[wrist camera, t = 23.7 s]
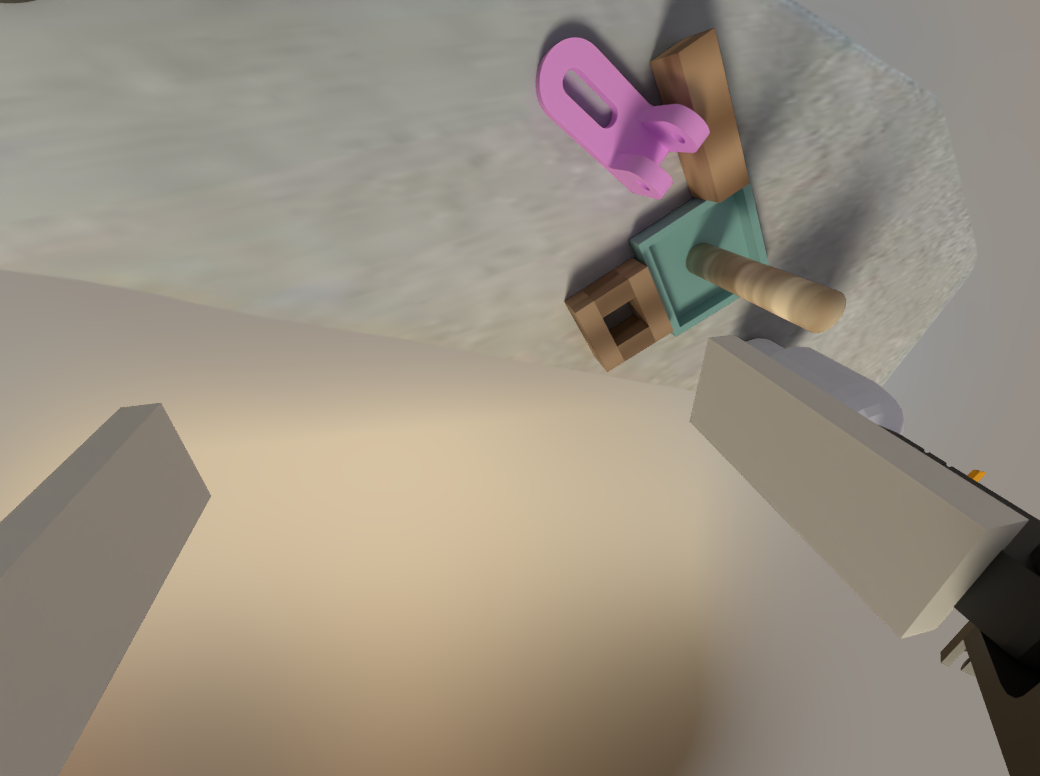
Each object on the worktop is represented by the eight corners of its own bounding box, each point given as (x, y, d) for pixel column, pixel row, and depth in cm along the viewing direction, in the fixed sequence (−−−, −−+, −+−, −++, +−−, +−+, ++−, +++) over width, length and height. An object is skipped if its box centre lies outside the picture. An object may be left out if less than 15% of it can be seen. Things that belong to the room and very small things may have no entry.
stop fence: (649, 61, 35) (678, 52, 31) (681, 39, 35) (714, 27, 31) (691, 196, 42) (719, 203, 38) (718, 178, 41) (749, 183, 37)
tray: (628, 240, 42) (638, 244, 41) (733, 171, 41) (748, 173, 39) (665, 329, 49) (675, 336, 47) (757, 272, 47) (771, 277, 46)
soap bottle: (800, 337, 53) (1039, 461, 33) (753, 405, 58) (939, 553, 37) (739, 315, 50) (966, 440, 29) (694, 390, 54) (865, 544, 34)
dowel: (683, 275, 45) (799, 334, 31) (688, 243, 43) (814, 292, 30) (710, 273, 45) (836, 330, 32) (717, 241, 44) (852, 289, 30)
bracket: (671, 136, 39) (718, 136, 33) (631, 192, 40) (668, 202, 34) (563, 22, 33) (596, -3, 27) (521, 93, 35) (544, 84, 29)
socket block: (564, 301, 44) (575, 313, 41) (631, 257, 43) (647, 266, 40) (595, 357, 48) (607, 371, 45) (657, 318, 48) (673, 330, 45)
